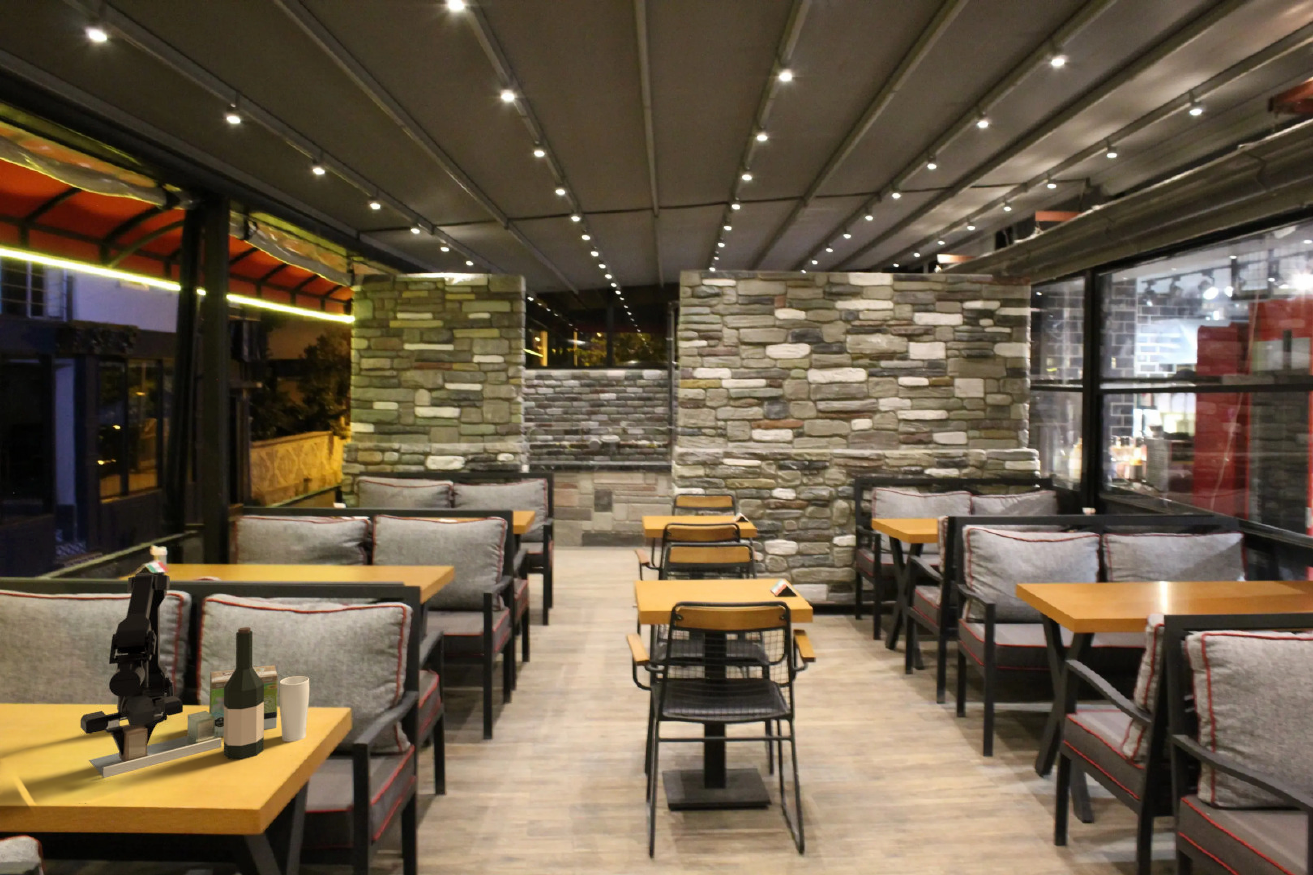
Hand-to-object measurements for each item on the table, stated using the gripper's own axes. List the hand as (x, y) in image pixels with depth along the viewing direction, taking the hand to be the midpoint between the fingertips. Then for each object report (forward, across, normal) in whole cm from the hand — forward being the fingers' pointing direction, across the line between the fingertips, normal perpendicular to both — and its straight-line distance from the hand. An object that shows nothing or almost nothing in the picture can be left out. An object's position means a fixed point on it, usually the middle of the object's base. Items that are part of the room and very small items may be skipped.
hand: (133, 751), depth 182 cm
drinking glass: (+4, +32, -10) cm, 33 cm away
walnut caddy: (+2, 0, 0) cm, 2 cm away
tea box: (+4, +26, +6) cm, 26 cm away
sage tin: (+2, +14, 0) cm, 14 cm away
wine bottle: (+4, +20, -12) cm, 23 cm away
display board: (+4, +5, +2) cm, 7 cm away
